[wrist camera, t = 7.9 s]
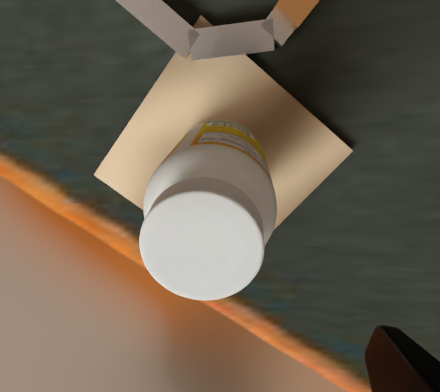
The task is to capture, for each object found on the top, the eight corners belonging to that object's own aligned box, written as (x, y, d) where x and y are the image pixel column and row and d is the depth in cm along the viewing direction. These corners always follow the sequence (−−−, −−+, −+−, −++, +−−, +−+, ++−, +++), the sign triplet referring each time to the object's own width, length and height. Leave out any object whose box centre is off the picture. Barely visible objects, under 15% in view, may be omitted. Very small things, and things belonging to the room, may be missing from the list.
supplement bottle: (243, 102, 17) (248, 135, 8) (278, 185, 19) (314, 287, 10) (158, 142, 18) (84, 209, 9) (199, 218, 20) (168, 335, 11)
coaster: (350, 148, 18) (353, 150, 18) (231, 268, 22) (231, 272, 22) (201, 16, 16) (200, 15, 16) (97, 172, 20) (93, 174, 19)
